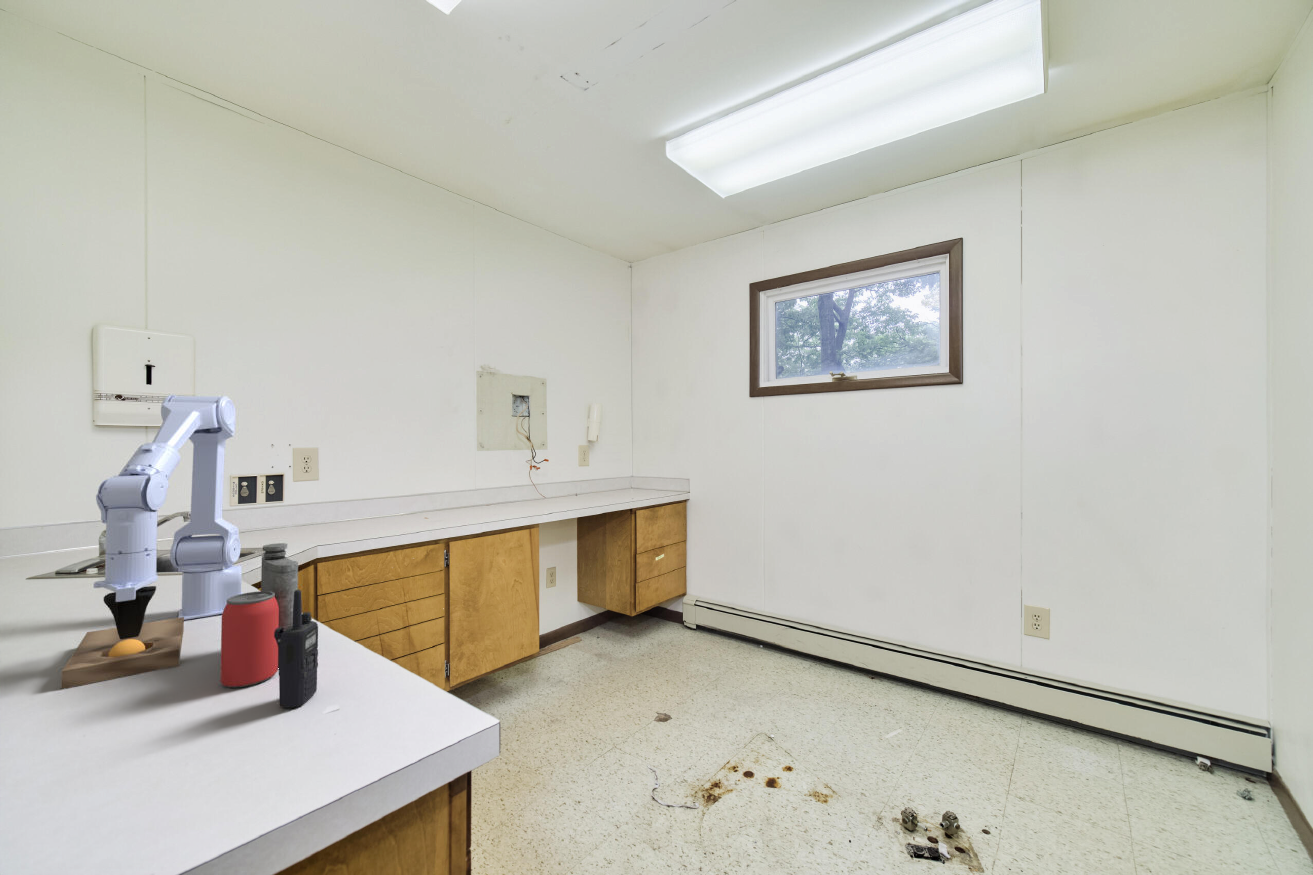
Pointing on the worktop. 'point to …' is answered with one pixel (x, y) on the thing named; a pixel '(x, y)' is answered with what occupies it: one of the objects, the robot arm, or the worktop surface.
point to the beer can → (249, 639)
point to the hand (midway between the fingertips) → (129, 636)
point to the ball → (126, 648)
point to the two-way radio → (297, 657)
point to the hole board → (97, 666)
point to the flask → (280, 581)
